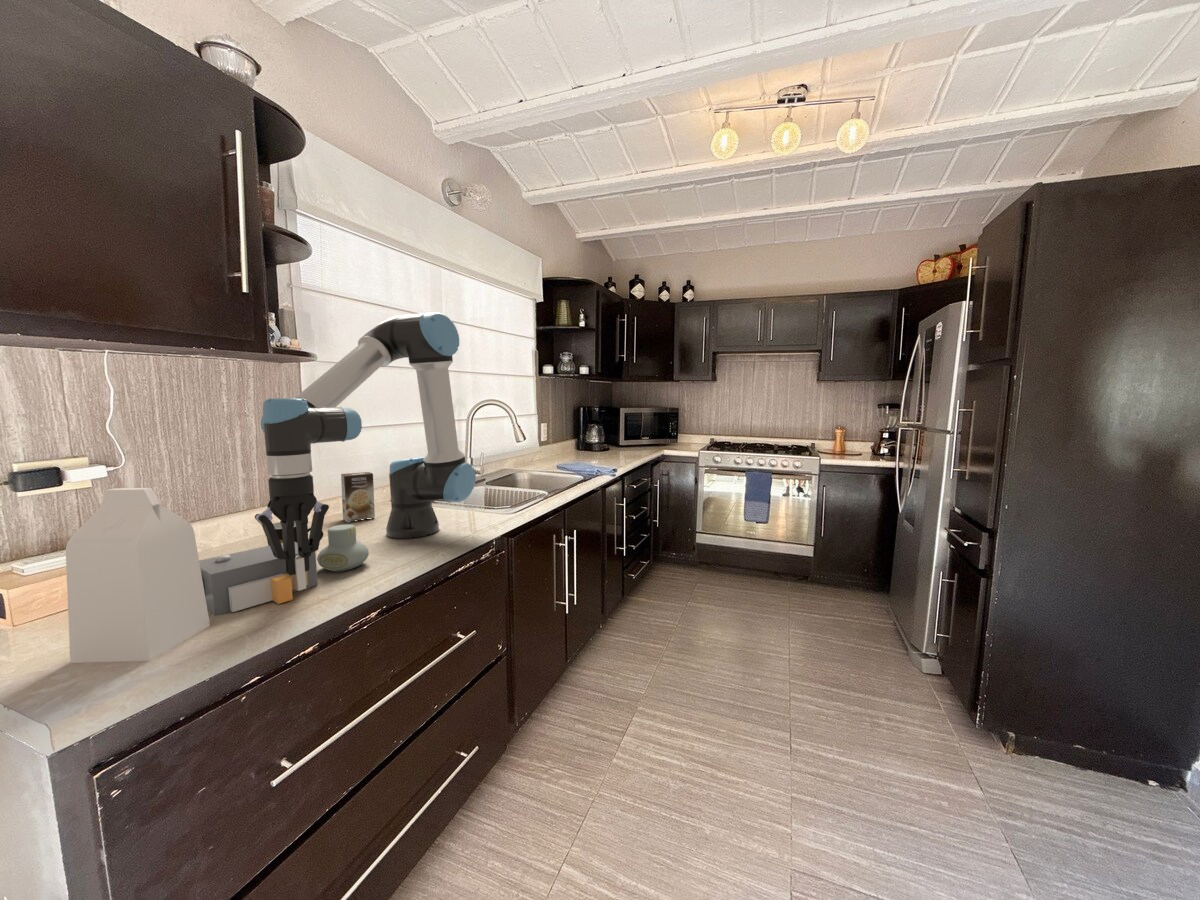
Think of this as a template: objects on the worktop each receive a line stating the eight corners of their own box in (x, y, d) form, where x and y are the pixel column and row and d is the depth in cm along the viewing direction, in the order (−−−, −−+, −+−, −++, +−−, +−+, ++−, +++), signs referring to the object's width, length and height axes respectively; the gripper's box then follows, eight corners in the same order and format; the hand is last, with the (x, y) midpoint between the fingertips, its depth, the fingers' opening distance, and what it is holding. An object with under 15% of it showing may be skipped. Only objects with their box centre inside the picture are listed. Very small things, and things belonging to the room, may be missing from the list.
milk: (210, 625, 83) (196, 482, 81) (150, 660, 72) (132, 495, 70) (141, 627, 83) (125, 483, 81) (70, 662, 72) (49, 496, 69)
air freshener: (311, 573, 109) (308, 532, 108) (332, 561, 118) (330, 523, 117) (356, 573, 109) (354, 531, 108) (375, 561, 117) (372, 522, 116)
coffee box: (346, 523, 156) (343, 476, 155) (342, 519, 161) (339, 473, 160) (375, 518, 162) (373, 473, 161) (371, 515, 167) (369, 471, 166)
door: (283, 594, 96) (281, 573, 96) (292, 599, 94) (291, 577, 93) (230, 610, 89) (228, 587, 89) (238, 616, 86) (236, 592, 86)
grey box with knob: (294, 574, 109) (291, 537, 108) (318, 585, 102) (315, 546, 101) (182, 603, 93) (178, 561, 92) (201, 619, 86) (197, 573, 85)
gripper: (317, 469, 101) (324, 574, 103) (245, 477, 91) (255, 594, 93) (333, 472, 97) (340, 582, 99) (259, 481, 86) (270, 603, 89)
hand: (299, 588), depth 96 cm, fingers closed
